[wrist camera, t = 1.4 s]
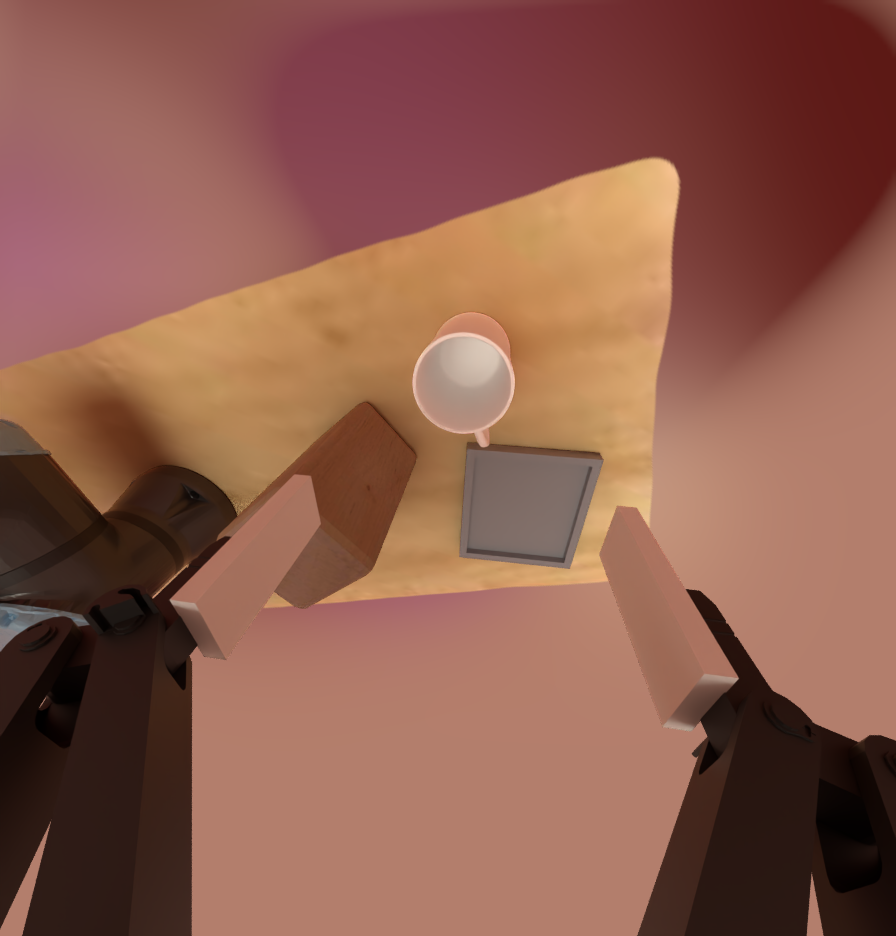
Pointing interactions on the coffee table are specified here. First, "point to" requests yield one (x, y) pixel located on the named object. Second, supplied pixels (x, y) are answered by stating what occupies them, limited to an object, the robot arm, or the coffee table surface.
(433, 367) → the mug
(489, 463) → the tray
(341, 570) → the wooden block
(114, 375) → the coffee table surface
